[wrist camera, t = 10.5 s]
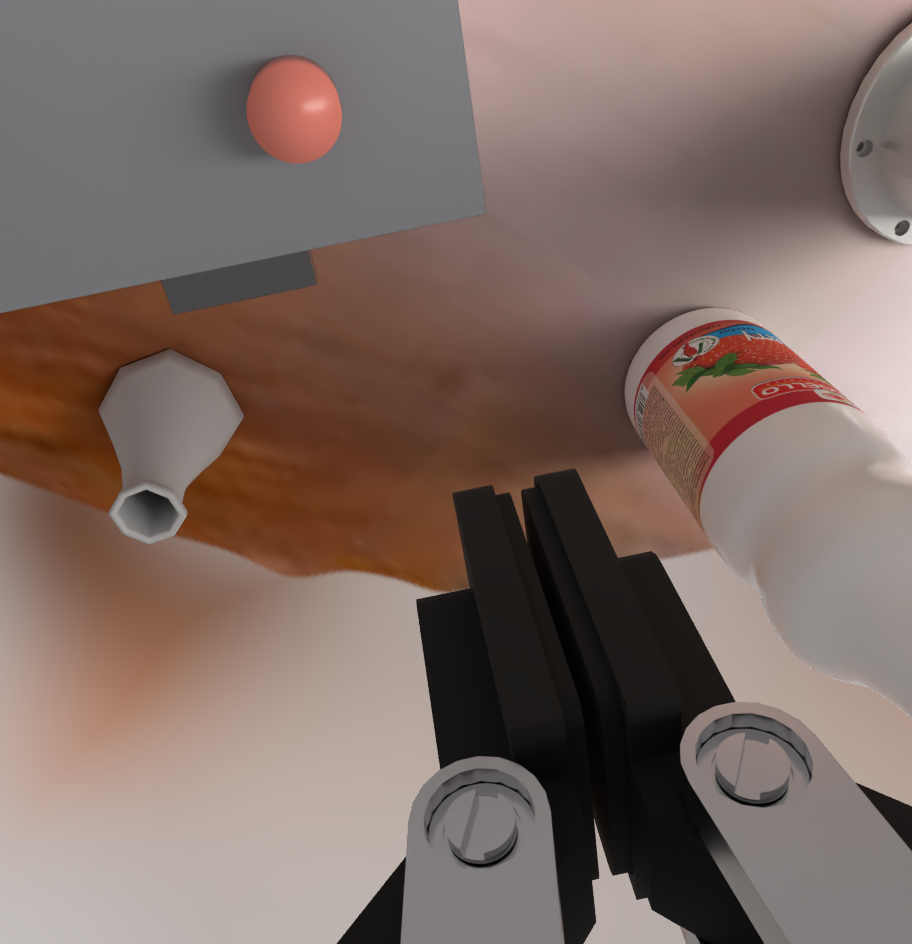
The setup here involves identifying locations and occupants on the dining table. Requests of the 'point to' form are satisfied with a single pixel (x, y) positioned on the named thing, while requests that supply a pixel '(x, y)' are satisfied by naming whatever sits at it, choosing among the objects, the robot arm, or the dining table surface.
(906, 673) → the fruit juice
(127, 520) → the flask
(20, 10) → the lid
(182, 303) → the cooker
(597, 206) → the dining table surface
